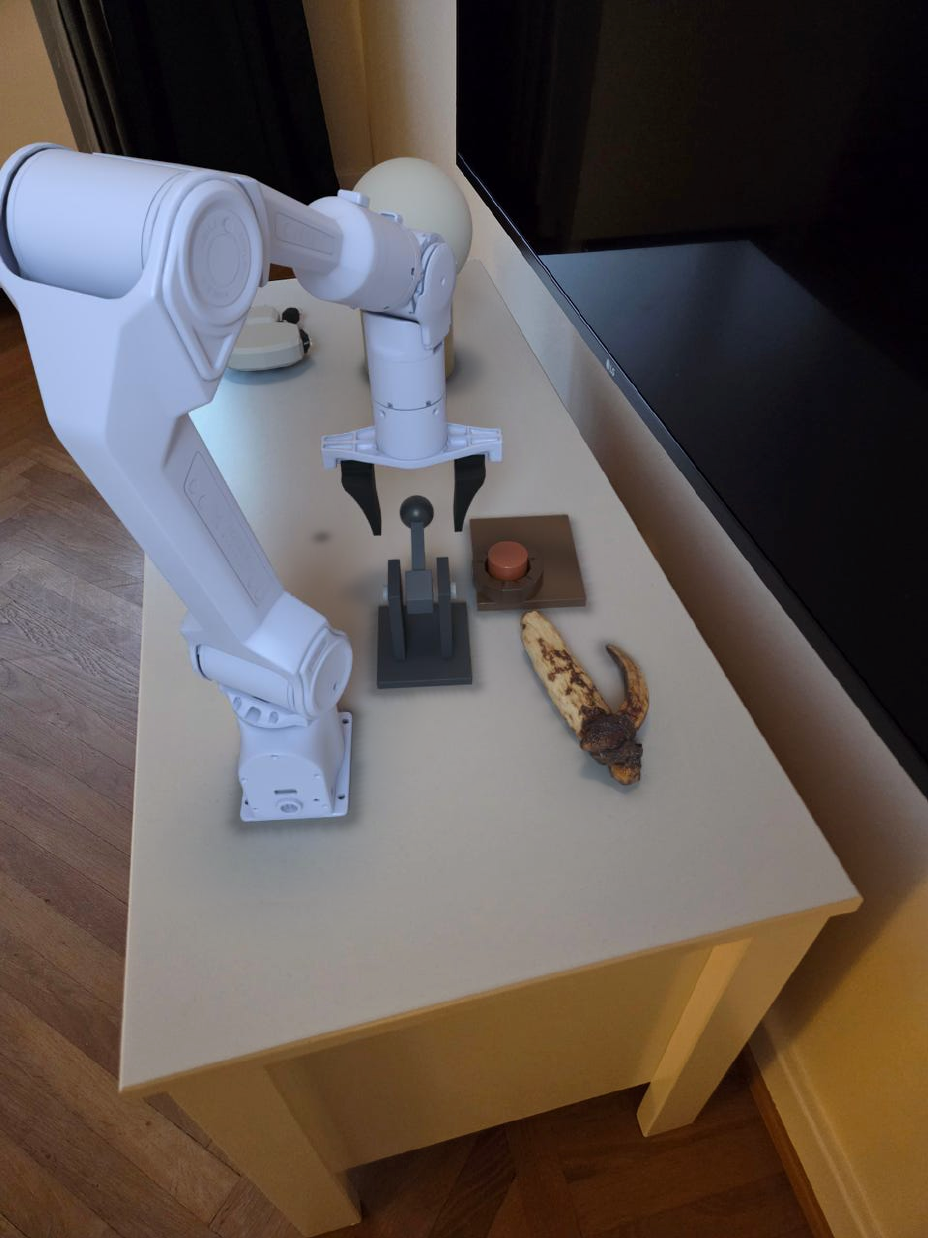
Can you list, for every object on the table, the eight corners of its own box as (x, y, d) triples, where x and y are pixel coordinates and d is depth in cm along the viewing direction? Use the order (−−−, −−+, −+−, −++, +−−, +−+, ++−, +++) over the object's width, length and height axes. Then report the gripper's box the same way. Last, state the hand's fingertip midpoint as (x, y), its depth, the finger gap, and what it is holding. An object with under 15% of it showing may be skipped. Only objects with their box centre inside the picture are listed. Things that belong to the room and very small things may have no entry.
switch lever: (400, 509, 75) (398, 488, 72) (433, 507, 75) (432, 487, 72) (403, 616, 70) (400, 598, 67) (439, 614, 70) (438, 596, 67)
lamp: (490, 393, 102) (493, 173, 84) (380, 418, 99) (358, 195, 81) (446, 336, 112) (440, 128, 94) (345, 357, 109) (318, 145, 90)
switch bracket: (379, 613, 77) (370, 541, 71) (466, 609, 77) (464, 537, 71) (377, 690, 71) (367, 619, 64) (472, 685, 71) (471, 614, 65)
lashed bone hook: (698, 767, 66) (588, 611, 77) (713, 732, 62) (595, 575, 73) (594, 806, 63) (495, 639, 74) (603, 772, 60) (498, 602, 71)
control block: (585, 609, 77) (588, 586, 75) (474, 614, 77) (474, 591, 75) (567, 523, 85) (569, 500, 83) (466, 527, 85) (466, 504, 83)
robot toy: (218, 337, 114) (218, 387, 103) (210, 304, 111) (209, 352, 100) (308, 327, 116) (318, 375, 105) (303, 294, 113) (312, 340, 102)
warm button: (528, 580, 76) (529, 566, 75) (489, 582, 76) (489, 568, 75) (524, 554, 78) (525, 540, 77) (486, 555, 78) (486, 541, 77)
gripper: (498, 359, 67) (495, 494, 77) (316, 366, 66) (337, 501, 76) (506, 408, 62) (502, 545, 72) (310, 416, 62) (333, 553, 72)
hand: (417, 526), depth 74 cm, fingers open, 6 cm apart
